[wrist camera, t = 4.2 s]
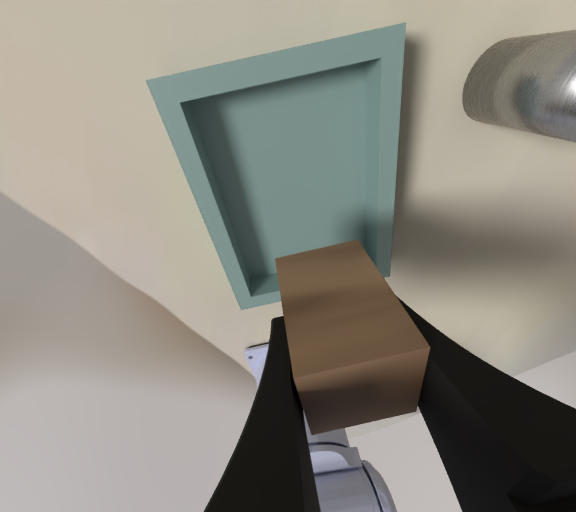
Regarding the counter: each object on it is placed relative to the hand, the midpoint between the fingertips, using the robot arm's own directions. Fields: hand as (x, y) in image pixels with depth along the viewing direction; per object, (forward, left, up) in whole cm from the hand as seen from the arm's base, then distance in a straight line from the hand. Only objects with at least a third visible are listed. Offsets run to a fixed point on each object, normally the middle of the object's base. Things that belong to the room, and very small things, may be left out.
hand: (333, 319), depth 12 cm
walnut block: (0, 0, -2) cm, 2 cm away
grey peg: (+6, -12, -9) cm, 17 cm away
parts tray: (+3, 0, -9) cm, 9 cm away
